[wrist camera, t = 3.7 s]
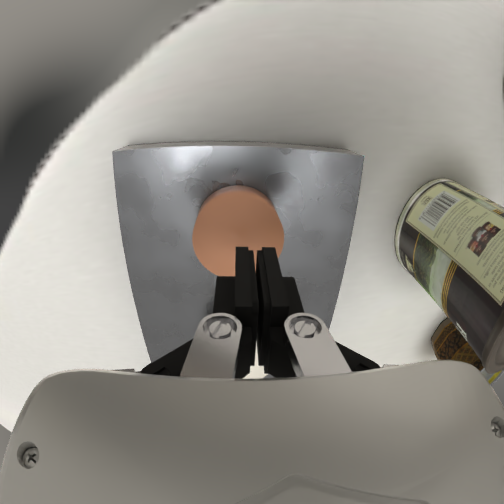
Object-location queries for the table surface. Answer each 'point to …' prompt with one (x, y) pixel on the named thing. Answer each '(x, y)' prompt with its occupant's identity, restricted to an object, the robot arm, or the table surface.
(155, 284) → the panel
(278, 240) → the brown egg
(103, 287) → the table surface
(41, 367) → the table surface
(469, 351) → the ceramic cup
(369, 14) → the table surface
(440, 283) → the coffee can
